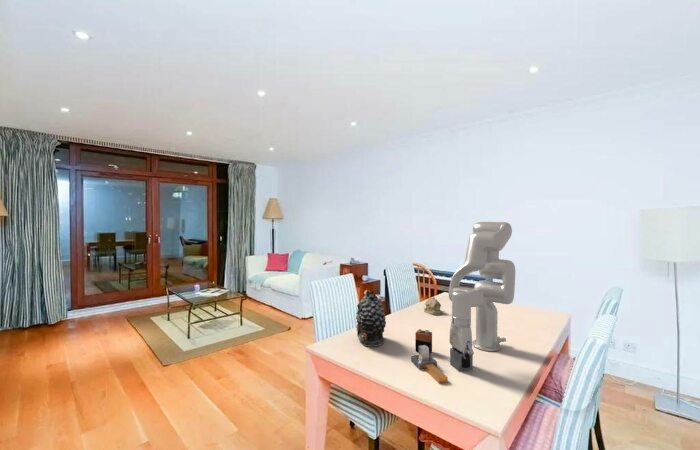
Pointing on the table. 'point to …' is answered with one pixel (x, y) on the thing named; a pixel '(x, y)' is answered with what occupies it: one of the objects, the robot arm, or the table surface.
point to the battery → (423, 339)
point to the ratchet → (428, 364)
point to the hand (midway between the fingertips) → (461, 363)
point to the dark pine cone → (370, 320)
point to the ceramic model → (432, 307)
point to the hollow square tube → (459, 360)
